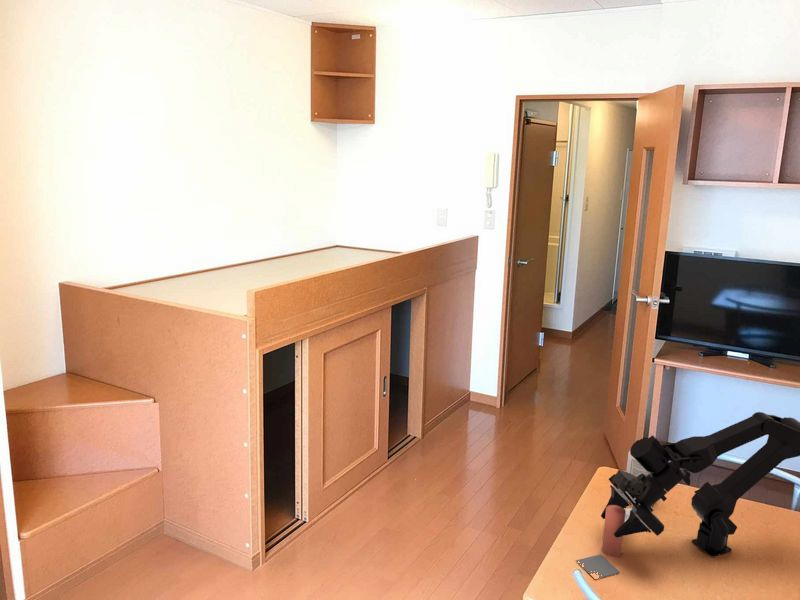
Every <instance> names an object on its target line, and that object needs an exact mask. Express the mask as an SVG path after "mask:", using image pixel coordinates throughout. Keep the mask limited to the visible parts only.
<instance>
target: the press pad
mask: <svg viewBox="0 0 800 600" xmlns="http://www.w3.org/2000/svg"><path fill="white" fill-rule="evenodd" d="M576 561H577V562H578V561H579V562H580V563H579V564H581V566H582V564H583V563H584V564H583V565H584V567H583V568H584V569H585V570H586V571H587V572H588V573H589V574H591V573H592V574H593V573H595V574H596V573H597V572H598V575H599V578H601V577H605V578H607V577H606V576H609V577H611V575H613V576H616V575H620V574H621V571H620V570H619V569H617V567H616V566H614V564H612V563H611V562H610V561H609V560H608V559H607V558H606V557H604V555H603V554H601V553H600V554H596V555H592V556H587V557H584V558H580V559H576V560H575V562H576ZM577 562H576V563H577ZM579 564H578V565H579ZM581 566H580V567H581ZM583 568H582V569H583ZM584 569H583V570H584ZM585 570H584V571H585ZM586 571H585V572H586ZM591 571H592V572H591ZM594 571H595V572H594ZM587 572H586V573H587ZM588 573H587V574H588ZM619 573H620V574H619ZM589 574H588V575H589ZM615 574H616V575H615ZM596 575H597V574H596ZM601 575H602V576H601ZM601 579H602V578H601Z"/></svg>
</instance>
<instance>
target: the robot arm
mask: <svg viewBox="0 0 800 600" xmlns="http://www.w3.org/2000/svg"><path fill="white" fill-rule="evenodd" d="M764 436H767V439H766V442H765V444H764V445H762V447H761V448H759V449H758V450H757V451H756V452H755V453H754V454H753V455H751V456H750V457H749V458H748V459H746V460H745V461H744V462H743V463H742V464H740V466H739V467H737V468H736V469H735V470H734V471H732V473H730V474H729V475H728V476H727V477H726V478H725V479H723V480H722V481H721V482H720V483H717V484H713V485H712V484H711V483H710V482H709V481H707V482H705V483H704V484H703V485H701V487H700V488H698V489H697V490H695V491H694V495H693V496H692V498H691V508H692V509H693V511H694V512H695V513H696V515H697V516H698V517H699V518H700V519H701V522H700V523H699V527H698V530H697V535H696V538H693V539H691V543H692V544H694V545H695V546H696V547H698V548H699V549H700V550H701V551H703V552H704V553H706V555H708V556H709V557H711V558H712V557H713V558H714V557H718V556H721V555H724V554H728V553H732V551H733V550H732V548H731V547H729V546H728V540H729V539H728V538H729V536H730V535H731V536H732V535H734V534H735V533H736V531H737V529H738V526H737V525H736V524H735V523H734V522H733V521H732V520H731V518H730V517H731V516H732V515H733V514H734V511H735V509H736V505H737V502H738V500H740V498H741V497H743V496H744V495H745V494H746V493H748V491H750V490H751V489H752V488H753V487H755V485H757V484H758V483H759V482H760V481H761V480H763V478H765V477H766V476H767V475H768V474H770V473H771V472H772V471H773V470H774V469H776V467H778V466H779V465H780V464H781V463H782V462H784V461H786V460H789V459H793V458H797V457H800V421H799V420H797V419H796V418H794V417H780V416H778V415H775V414H767V413H765V412H760V411H757V412H754V413H753V414H752V415H751V416H749V417H746V418H745V419H742V420H741V421H739V422H735V423H734V424H732V425H729V426H727V427H725V428H722V429H720V430H718V431H716V432H714V433H711V434H708V435H704V436H700V435H699V436H697V435H696V436H691V437H690V436H689V437H686V438H684V439H680V440H678V441H676V442H670V443H665V444H663V443H662V444H661V442H660V440H659V439H657V438H656V437H655V436H654V435H651V436H650V437H644V438H640V439H637V440H636V441H635V442H634V443H633V444H632V445H631V447H630V449H629V451H630V454H631V455H632V456H633V457H634V458H635V460H636V461H637V462H638V463H639V464H640V465H641V466H642V467H643V468H644V469H645V470H646V471H648V472H650V474H648V475H646V476H645V475H644V474H640V475H639V476H637V477H636V476H634V475H632V474H630V473H628V472H626V471H625V470H622V469H621V468H620V469H618V470H617V471H616V473H615V474H614V473H613V475H611V476H610V477H609V478H608V481H609V482H610V483H611V484H610V487H609V488H610V493H611V494H610V498H609V500H608V502H607V504H606V506H605V507H604V509H603V511H602V513H601V515H600V517H601V519H602V520H605V514H606V507H607V506H609V505H617V506H620V507H622V508H624V509H627V507H629V506H630V505H632V504H633V506H634V507H635V508H636V509H637V510H636V514H635V513H634V512H633V511H632V510H630V516H629V518H628V519H627V520H626V521H625V522H624V523H623V524H622V525H621V526H620V527H619V528H618V529H617V531H616V532H615V533H614V536H615V537H622V536H623V537H625V536H629V535H634V534H639V533H645V532H648V533H650V534H651V533H653V534H654V535H655V536H657V537H658V536H659V535H661V534H662V533H663V532H664V531H665V525H664V524H663V522H662V521H661V519H660V518H658V516H657V515H655V513H653V512H654V509H653V508H652V507H653V506H655V504H657V502H659V501H660V500H662V501H663V502H665V501H666V500H668V498H667V496H666V494H668V493H670V491H671V490H673V489H674V488H675V487H676V486H677V485H678V484H679V483H681V482H682V481H683V482H684V483H685V484H686V485H687V486H690V485H691V478H690V477H691V473H692V474H698V473H701V472H703V471H704V470H706V469H707V468H709V467H711V466H712V465H713V464H714V463H715V461H716V460H717V458H718V457H720V456H722V455H724V454H726V453H728V452H730V451H733V450H735V449H738V448H740V447H742V446H744V445H746V444H748V443H751V442H753V441H755V440H757V439H760V438H762V437H764ZM634 498H636V499H635V500H634ZM626 499H628V500H629V501H630V502H631V503H632V504H631V503H629V502H628V501H627V500H626ZM639 504H640V505H639ZM637 505H638V506H637Z"/></svg>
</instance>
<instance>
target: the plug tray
mask: <svg viewBox="0 0 800 600" xmlns="http://www.w3.org/2000/svg"><path fill="white" fill-rule="evenodd" d="M639 505H640V504H639ZM637 506H638V505H637ZM624 509H625V511H626V514H625V521H626V520H627V519H628V518H629V516H630V510H632V511H633V512H634V513H635V514H636V510H637V509H636V508H635V507H634V506H633V504H631V507H629V508H624Z"/></svg>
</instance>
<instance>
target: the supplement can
mask: <svg viewBox="0 0 800 600" xmlns="http://www.w3.org/2000/svg"><path fill="white" fill-rule="evenodd" d="M626 462H627V463H626V471H625V472H628V473H630V474H632V475H634V476H636V477H637V476H639V475H640V474H644V475H645V476H646V475H648V474H650V472H648V471H646V470H645V469H644V468H643V467H642V466H641V465H640V464H639V463H638V462H637V461H636V460H635V458H634V457H633V456H632V455H631V454H630V450H629V451H628V454H627V461H626ZM635 499H636V498H634V500H635ZM626 501H627V502H628V503H629V504H630V505H632V503H631V502H630V501H629V500H628V499H626Z"/></svg>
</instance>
